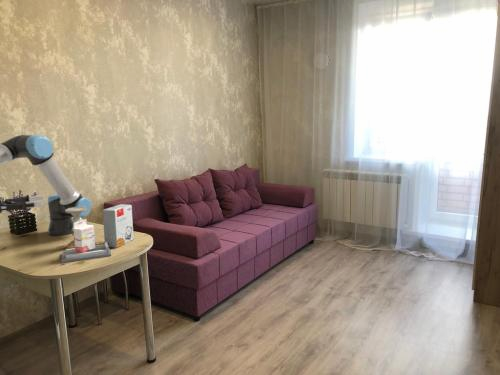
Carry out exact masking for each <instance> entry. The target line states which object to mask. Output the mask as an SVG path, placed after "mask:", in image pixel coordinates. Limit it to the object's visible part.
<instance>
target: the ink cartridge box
mask: <svg viewBox="0 0 500 375" xmlns="http://www.w3.org/2000/svg"><path fill="white" fill-rule="evenodd" d="M80 222H81V223H82V224H79V225H78V223H80ZM87 223H88V222H87V218H85V219H82V220H80V221H77V222H74V236H73V240H75V251H76V252H81V253H83V252H86V251H89V250H91V249H94V248H95V245H96V240H95V239H96V238H95V227H94V226H95V225H93V224H87Z"/></svg>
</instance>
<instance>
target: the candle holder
mask: <svg viewBox="0 0 500 375" xmlns="http://www.w3.org/2000/svg"><path fill="white" fill-rule="evenodd" d="M86 210H87V208H86V207H73V208H68V209H66V210H65V212H66V213H71V215H73V217H72V221H73V227H72V230H73V231H74V222H77V221H80V220H83V218H81V217H80V215H81V213H82V212H84V211H86ZM79 224H82V222H80V223H78V225H79ZM71 235H72V236H73V237H74V232H73V233H71ZM72 248H75V240H74V239H73V240H71V241H70V242H69V243H67V244H66V249H72Z"/></svg>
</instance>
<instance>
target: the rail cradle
mask: <svg viewBox="0 0 500 375" xmlns="http://www.w3.org/2000/svg"><path fill="white" fill-rule="evenodd" d="M110 248H111V247H109V245H108V244H107V241H105V240H104V244H95V248H94V249H91V250H89V251H86V252H83V253H81V252H76V251H75V248H72V249H68V248H66V249H65V251H61V264H65V263H72V262H78V261H85V260H92V259H99V258H107V257H112V254H111V249H110Z"/></svg>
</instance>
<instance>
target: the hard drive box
mask: <svg viewBox="0 0 500 375" xmlns="http://www.w3.org/2000/svg"><path fill="white" fill-rule="evenodd" d="M102 219H103V222H102V224H103V234H104V235H103V236H104V238H103V239H104V241H107V244H108V245H109V248H113V249H114V248H116V249H117V248H119V247H122V246H123V245H125V244H128V243H130V242H132V241H133V239H134V226H133V206H132V204H122V203H121V204H117V205H114V206H111V207H108V208H104V209H103V210H102ZM131 240H132V241H131ZM129 241H130V242H129ZM127 242H128V243H127Z"/></svg>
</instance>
